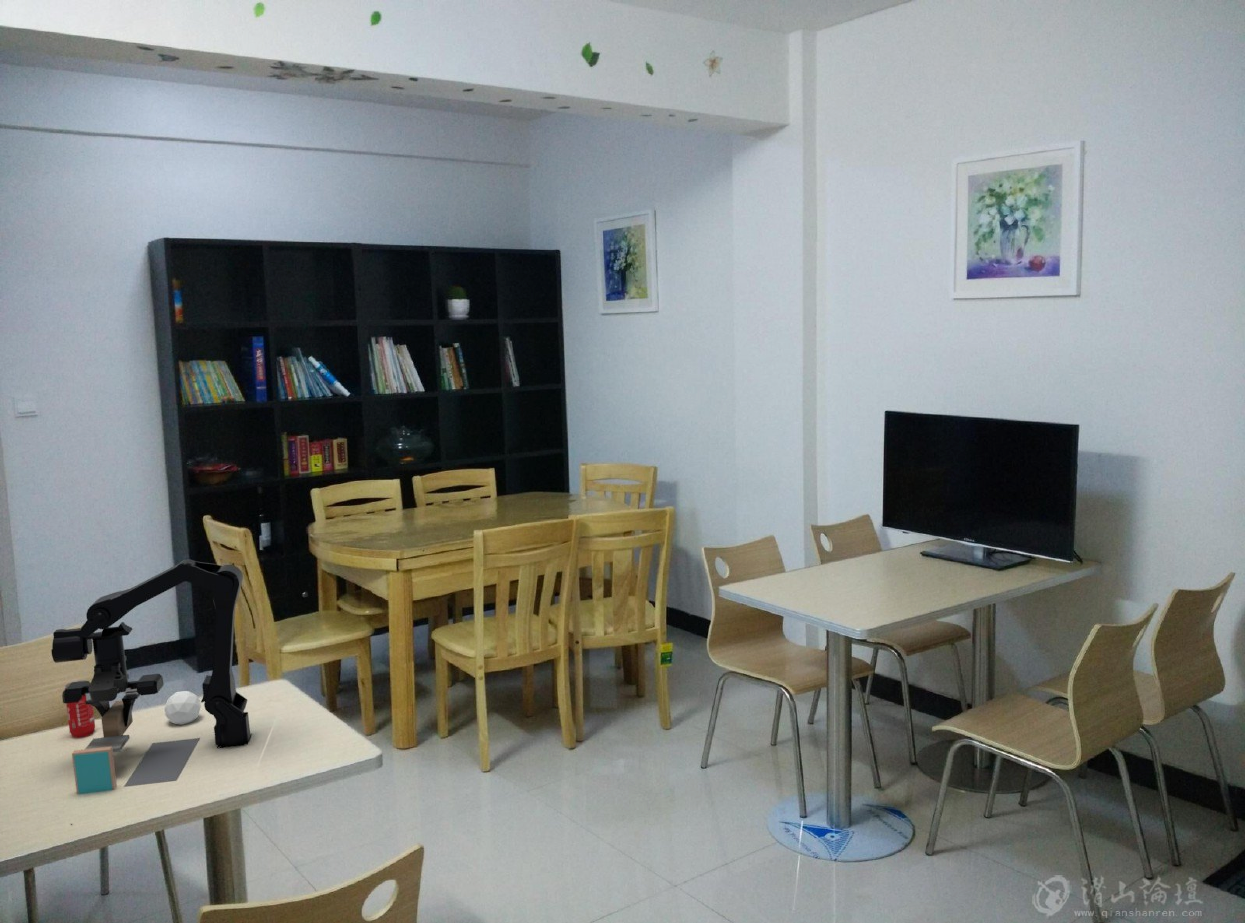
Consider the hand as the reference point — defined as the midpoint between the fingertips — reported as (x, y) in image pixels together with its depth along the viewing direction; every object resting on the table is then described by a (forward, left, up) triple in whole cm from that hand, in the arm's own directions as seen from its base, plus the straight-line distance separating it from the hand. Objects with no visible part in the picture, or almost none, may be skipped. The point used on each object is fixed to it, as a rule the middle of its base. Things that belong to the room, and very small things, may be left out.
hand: (118, 726), depth 221 cm
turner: (0, +4, -1) cm, 4 cm away
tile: (0, +17, -7) cm, 18 cm away
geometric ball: (-9, -17, -7) cm, 21 cm away
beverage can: (+13, -17, -7) cm, 23 cm away
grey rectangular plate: (-10, +6, -7) cm, 14 cm away
